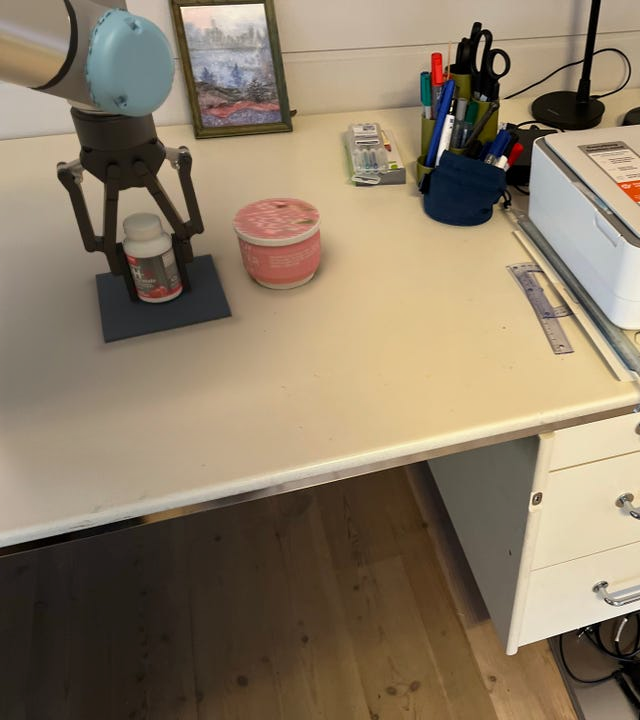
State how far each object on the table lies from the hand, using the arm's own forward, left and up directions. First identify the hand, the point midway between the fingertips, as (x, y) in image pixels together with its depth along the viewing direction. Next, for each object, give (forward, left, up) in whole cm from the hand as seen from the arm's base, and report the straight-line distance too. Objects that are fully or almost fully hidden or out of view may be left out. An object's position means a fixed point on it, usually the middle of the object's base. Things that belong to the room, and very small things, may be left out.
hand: (160, 289), depth 91 cm
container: (+15, 0, -1) cm, 15 cm away
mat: (0, 0, -1) cm, 1 cm away
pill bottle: (0, 0, -1) cm, 1 cm away
